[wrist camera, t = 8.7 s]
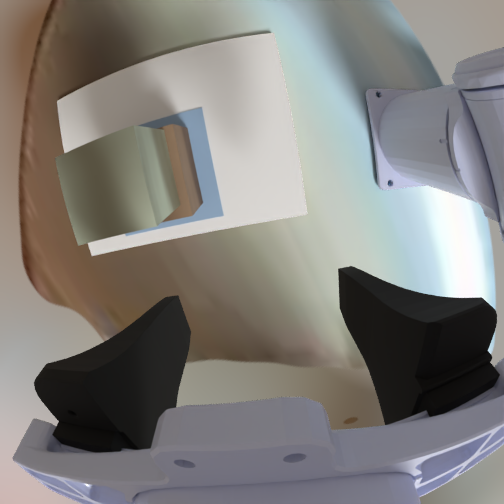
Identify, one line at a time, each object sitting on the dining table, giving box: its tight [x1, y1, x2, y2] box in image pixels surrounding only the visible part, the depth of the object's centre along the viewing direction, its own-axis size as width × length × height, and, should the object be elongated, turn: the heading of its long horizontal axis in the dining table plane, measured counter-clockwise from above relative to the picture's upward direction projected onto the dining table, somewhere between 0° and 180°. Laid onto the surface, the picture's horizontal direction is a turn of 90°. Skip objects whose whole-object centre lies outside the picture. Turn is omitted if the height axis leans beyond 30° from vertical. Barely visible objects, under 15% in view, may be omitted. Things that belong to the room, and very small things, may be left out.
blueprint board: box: [57, 33, 308, 256], centre depth 19 cm, size 18×14×1 cm
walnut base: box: [157, 124, 203, 223], centre depth 17 cm, size 6×6×4 cm
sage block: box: [55, 125, 181, 245], centre depth 13 cm, size 4×4×4 cm
